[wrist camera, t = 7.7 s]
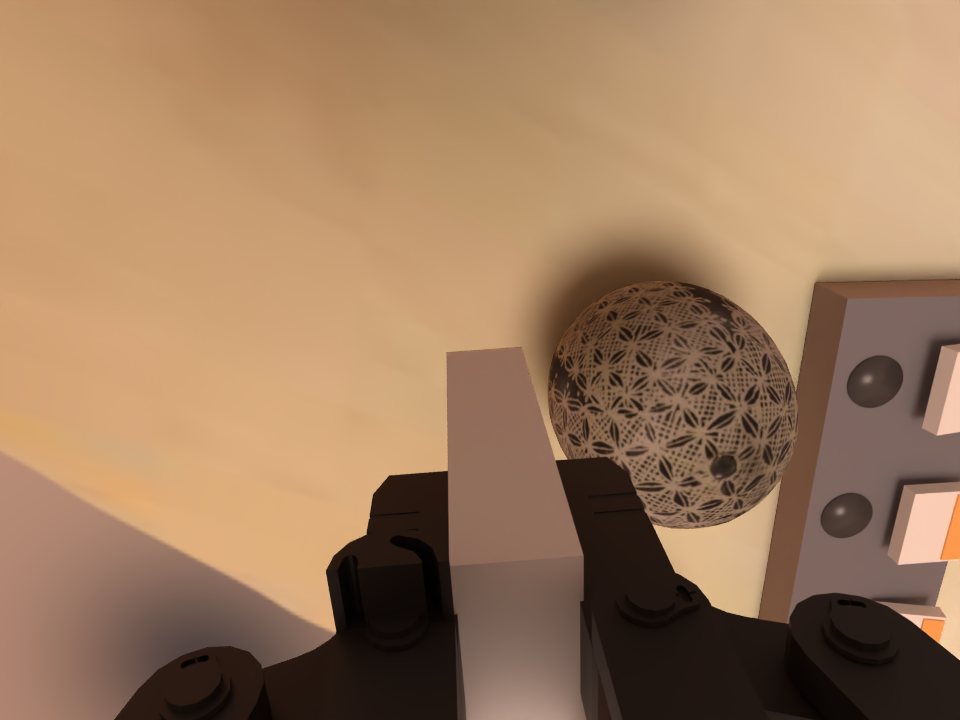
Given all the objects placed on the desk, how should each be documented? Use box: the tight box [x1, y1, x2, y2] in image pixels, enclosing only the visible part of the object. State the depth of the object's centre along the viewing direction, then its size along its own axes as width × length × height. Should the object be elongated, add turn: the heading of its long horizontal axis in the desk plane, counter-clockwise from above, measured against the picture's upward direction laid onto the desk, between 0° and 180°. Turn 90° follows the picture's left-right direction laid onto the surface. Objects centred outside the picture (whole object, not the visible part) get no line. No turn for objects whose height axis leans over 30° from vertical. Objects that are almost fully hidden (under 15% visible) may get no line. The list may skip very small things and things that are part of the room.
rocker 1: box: [875, 601, 946, 643], centre depth 45 cm, size 5×4×1 cm
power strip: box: [758, 279, 960, 624], centre depth 45 cm, size 28×10×4 cm, turn 1°
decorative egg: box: [548, 281, 798, 529], centre depth 35 cm, size 12×12×15 cm
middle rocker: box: [887, 482, 960, 565], centre depth 42 cm, size 5×4×1 cm
